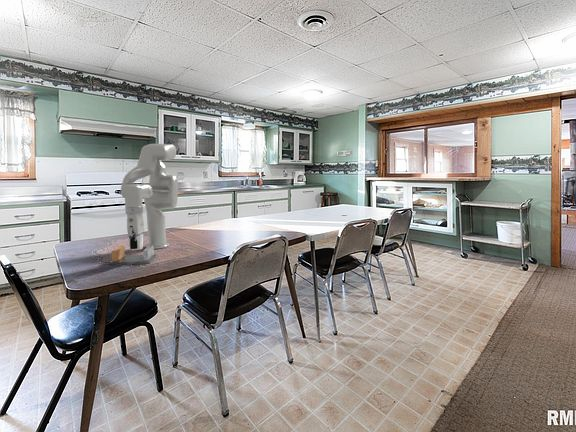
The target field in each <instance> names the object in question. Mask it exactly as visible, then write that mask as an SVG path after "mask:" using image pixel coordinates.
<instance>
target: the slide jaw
mask: <svg viewBox="0 0 576 432" xmlns="http://www.w3.org/2000/svg"><path fill="white" fill-rule="evenodd" d="M125 255H126V253H125V246H124V245H119V246H118V247H116V248H114V249H113V250H112V251H111V261H112V262H113V261H118V260H119V259H121V258H122V257H124V256H125Z"/></svg>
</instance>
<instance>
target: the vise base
mask: <svg viewBox="0 0 576 432" xmlns="http://www.w3.org/2000/svg"><path fill="white" fill-rule="evenodd" d="M142 250H143V251H142V254H130V255H129V254H125V256H124V257H122V258H121V259H119V260H118V261H113V262H112V260H110V261H109V263H108V265H109V266H111V265H113V266H115V265H118V266H120V265H121V266H122V265H147V264H149V265H150V264H151V263H152V262H153V261H154V260H155V259H156V258H157V257H158V256H157V254H155V249H154V246H148V247H147V248H146V247H145V249H142Z"/></svg>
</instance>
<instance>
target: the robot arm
mask: <svg viewBox="0 0 576 432" xmlns="http://www.w3.org/2000/svg"><path fill="white" fill-rule="evenodd" d="M176 156H177V147H176V146H175V145H174V144H172V143H149V144H146V145H144V146H143V147H142V148H141V151H140V155H139V157H138V158H139V159H138V161H137V165H136V166H135V167H133V168H132V169H131V170H130V171H128V172H127V173H126V174H125V175H124V177H123V178H122V179H123V180H122V183H121V186H120V194H121V196H122V198H124V206H125V208H124V210H125V215H126V228H127V229H126V230H127V231H126V232H127V235H129V238H130V239H129V240H130V247H129V250H130V249H137V248H138V245H137V241H136V239H137V237H136V236H137V235H139V234H143V232H145V223H144V216H143V214H144V208H143V205H145V212H146V225H147V243H146V244H145V249H146V248H147V247H148V246H154V250H155V249H157V250H158V249H165V248H168V247H169V246H170V244H169V242H167V235H166V234H167V233H166V215H165V214H164V212H163V211H162V210H173V209H175V208H177V204H178V196H179V195H178V193H179V180H178V178H177V176H176V175H174V174H167V167H166V165H165V163H164V162H163V161H165V162H167V161H171V160H174V159H175V158H176ZM148 176H149V178H148V180H149V181H148V184H147V183H135V182H137V181H138V180H141V179H143V178H146V177H148ZM143 201H144V204H143ZM134 236H135V238H134ZM129 240H128V241H129Z"/></svg>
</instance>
